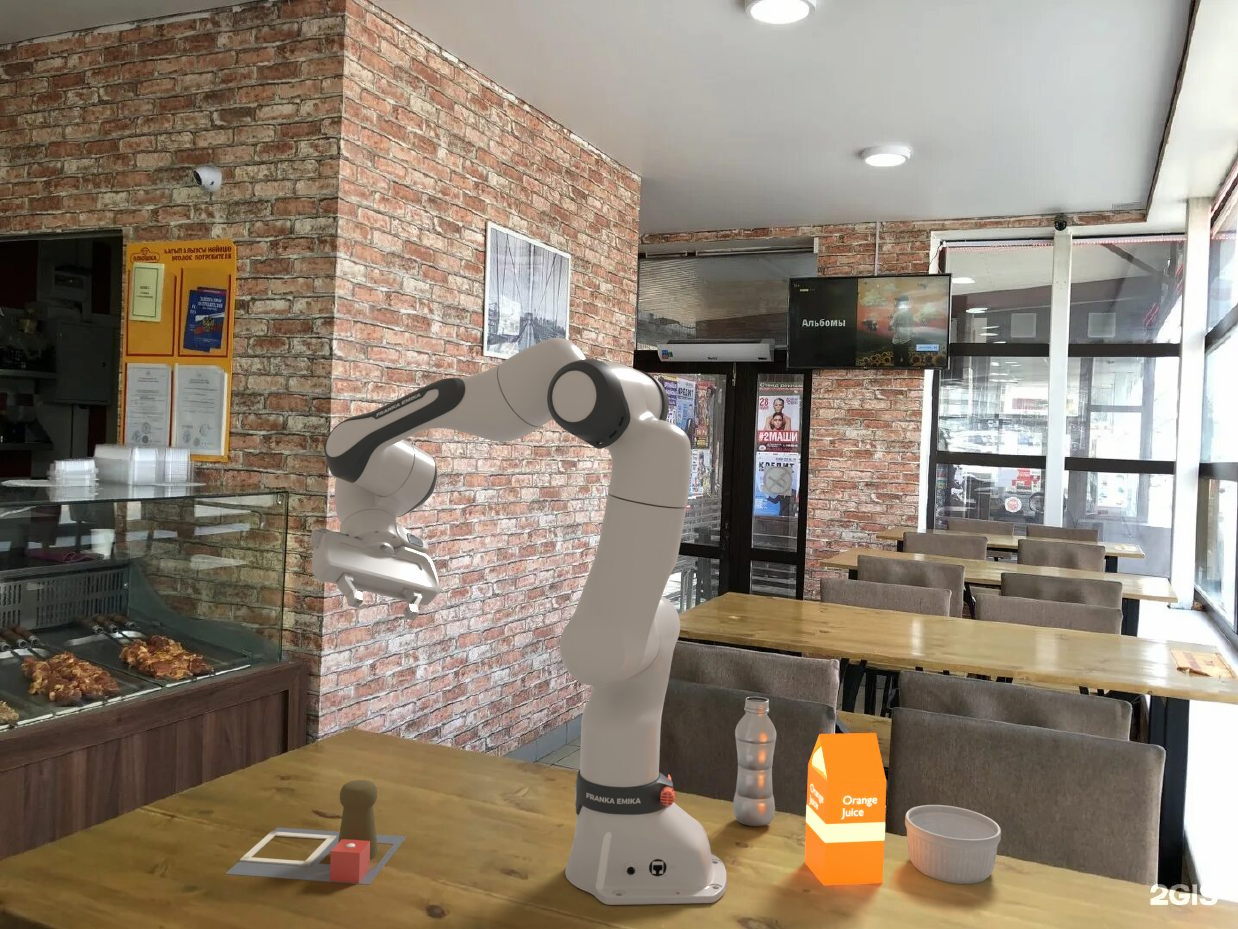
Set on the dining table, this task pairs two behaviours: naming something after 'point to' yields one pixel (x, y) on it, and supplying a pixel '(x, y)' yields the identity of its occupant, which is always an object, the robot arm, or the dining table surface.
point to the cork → (359, 813)
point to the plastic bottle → (755, 764)
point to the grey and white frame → (311, 865)
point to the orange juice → (846, 810)
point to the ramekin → (952, 843)
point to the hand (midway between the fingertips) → (384, 611)
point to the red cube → (350, 860)
